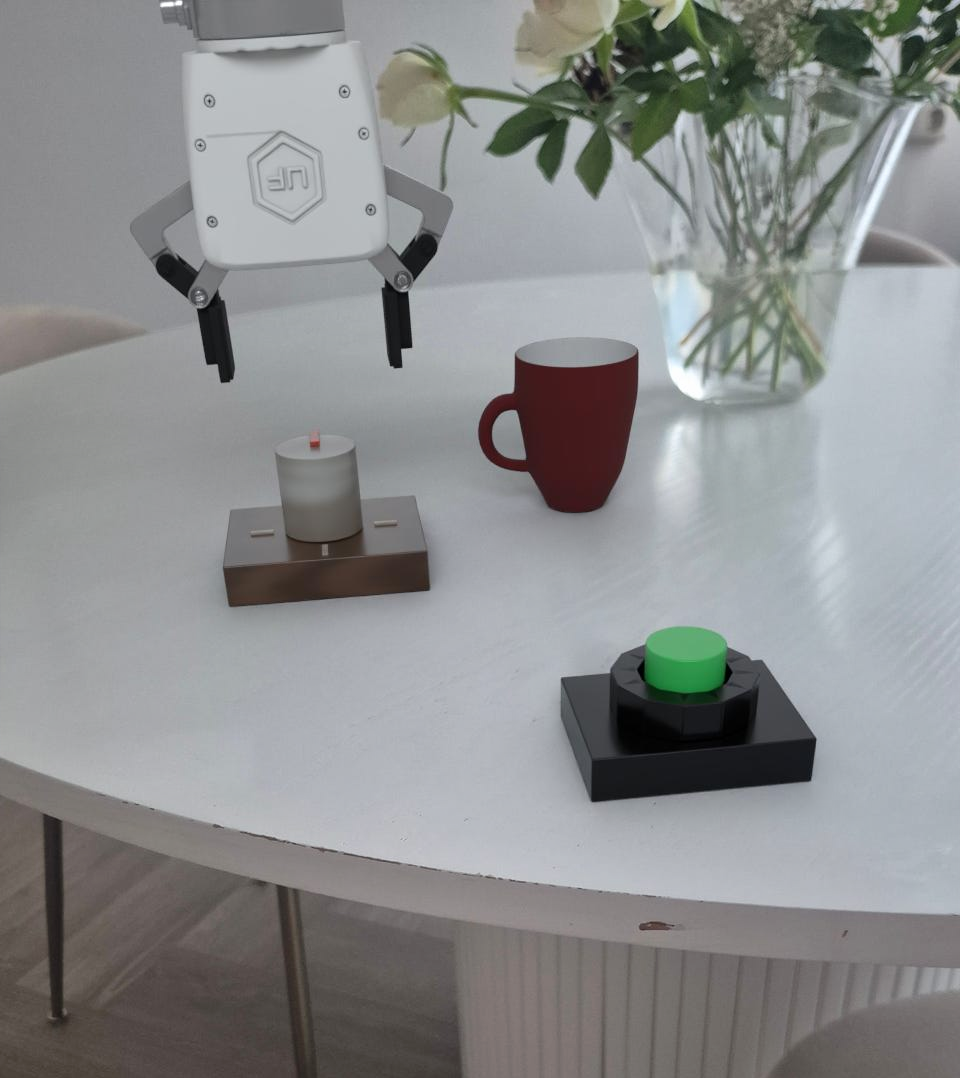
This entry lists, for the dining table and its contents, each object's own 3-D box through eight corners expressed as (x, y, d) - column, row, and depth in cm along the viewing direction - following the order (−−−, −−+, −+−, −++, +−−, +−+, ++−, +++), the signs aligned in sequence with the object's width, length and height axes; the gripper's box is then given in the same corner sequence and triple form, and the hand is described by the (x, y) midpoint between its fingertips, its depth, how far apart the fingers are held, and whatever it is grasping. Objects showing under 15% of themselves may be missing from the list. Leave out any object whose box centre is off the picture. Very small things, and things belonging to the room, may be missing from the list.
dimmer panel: (228, 607, 75) (221, 564, 73) (235, 546, 83) (229, 506, 81) (430, 590, 76) (427, 547, 74) (417, 531, 84) (414, 492, 82)
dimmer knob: (364, 538, 76) (356, 450, 73) (284, 545, 76) (273, 456, 73) (361, 511, 80) (353, 427, 77) (285, 517, 80) (274, 432, 76)
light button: (654, 700, 55) (655, 664, 54) (636, 664, 58) (637, 629, 57) (734, 692, 56) (737, 656, 55) (712, 657, 59) (714, 622, 58)
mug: (493, 532, 83) (487, 375, 77) (473, 493, 90) (467, 345, 84) (648, 517, 84) (654, 361, 79) (618, 479, 91) (621, 333, 85)
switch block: (591, 802, 55) (592, 723, 53) (560, 716, 62) (560, 642, 60) (811, 781, 56) (822, 701, 54) (758, 698, 63) (765, 624, 60)
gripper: (81, 26, 59) (154, 400, 69) (447, 3, 60) (468, 373, 70) (102, 22, 65) (166, 366, 75) (434, 1, 66) (454, 342, 76)
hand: (312, 369), depth 72 cm, fingers open, 9 cm apart
